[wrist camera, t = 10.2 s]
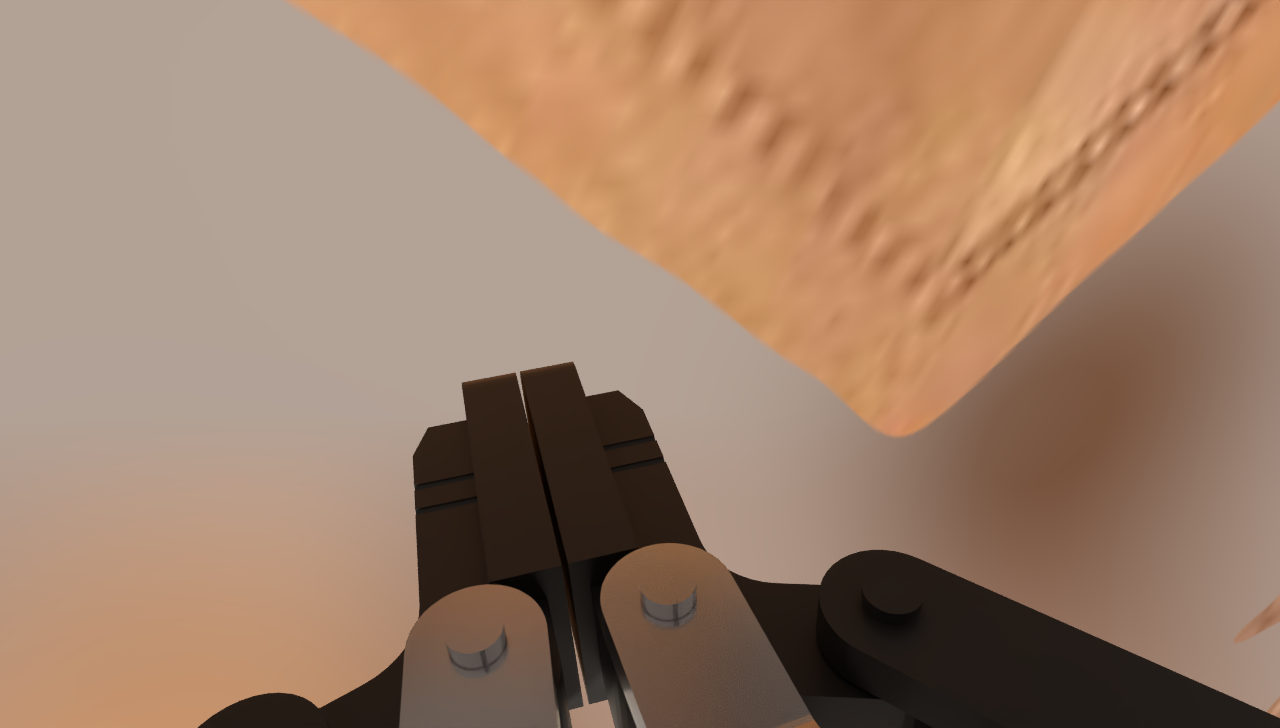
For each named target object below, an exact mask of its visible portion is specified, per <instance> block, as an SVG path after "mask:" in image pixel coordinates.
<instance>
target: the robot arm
mask: <svg viewBox="0 0 1280 728" xmlns="http://www.w3.org/2000/svg"><path fill="white" fill-rule="evenodd" d="M520 375H521V376H520V377H521V383H522V390H523V396H524V402H525V408H526V414H527V418H526V414H525V410H524V405H523V401H522V397H521V393H520V389H519V384H518V381H517V376H516V373H511V374H506V375H501V376H495V377H490V378H484V379H479V380H474V381H468V382H463V383H462V389H463V397H464V404H465V411H466V419H467V420H465V421H460V422H455V423H450V424H444V425H440V426H434V427H429V428H428V429H427V431H426V433H425V435H424V436H423V438H422V440H421V442H420V444H419V446H418V447H417V449H416V451H415V453H414V455H413V469H414V486H415V510H416V535H417V558H418V578H419V579H418V580H419V602H420V609H419V618H418V620H417V622H416V623H415V625H414V626H413V628H412V630H411V631H410V633H409V636H408V639H407V641H406V646H405V649H404V650H403V652H402V653H401V654H400V655H399V656H398V658H397V659H396V660H395V661H394V662H393V663H392V664H391V665H390V666H389V667H388V668H386V669H385V670H384V671H383V672H381V673H380V674H379V675H378V676H376V677H375V678H373V679H372V680H370V681H368V682H367V683H365V684H363V685H362V686H360V687H358V688H356V689H355V690H353V691H351V692H349V693H347V694H345V695H343V696H341V697H340V698H338V699H336V700H334V701H332V702H330V703H328V704H327V705H325V706H323V707H321V708H319V709H318V708H317V707H316V706H315V705H314V704H313V703H312V702H310V701H308V700H307V699H305V698H303V697H300V696H297V695H294V694H286V693H268V694H263V695H257V696H253V697H250V698H247V699H244V700H241V701H239V702H237V703H234V704H232V705H230V706H228V707H226V708H225V709H223V710H221V711H219V712H218V713H216V714H215V715H213V716H212V717H210V718H209V719H208V720H206V721H205V722H204V723H203V724H201V725H200V726H199V727H198V728H572V725H571V719H570V713H569V710H571V709H575V708H578V707H582V706H583V700H582V694H581V687H580V681H579V674H578V668H577V662H576V655H575V649H574V642H573V637H574V640H575V645H576V650H577V654H578V658H579V663H580V667H581V671H582V676H583V680H584V684H585V688H586V692H587V697H588V701H589V704H592V703H596V702H600V701H604V700H608V701H609V705H610V710H611V714H612V717H613V721H614V725H615V728H1280V718H1278V717H1276V716H1274V715H1271V714H1269V713H1267V712H1265V711H1262V710H1260V709H1258V708H1255V707H1253V706H1251V705H1248V704H1246V703H1244V702H1242V701H1239V700H1237V699H1235V698H1233V697H1230V696H1228V695H1226V694H1224V693H1222V692H1219V691H1217V690H1215V689H1212V688H1210V687H1208V686H1206V685H1203V684H1201V683H1199V682H1197V681H1194V680H1192V679H1190V678H1188V677H1185V676H1183V675H1181V674H1178V673H1176V672H1174V671H1172V670H1170V669H1167V668H1165V667H1163V666H1160V665H1158V664H1156V663H1154V662H1151V661H1149V660H1147V659H1145V658H1142V657H1140V656H1138V655H1136V654H1133V653H1131V652H1128V651H1126V650H1124V649H1122V648H1120V647H1117V646H1115V645H1113V644H1111V643H1108V642H1106V641H1104V640H1102V639H1099V638H1097V637H1095V636H1092V635H1090V634H1088V633H1085V632H1083V631H1081V630H1079V629H1077V628H1074V627H1072V626H1070V625H1068V624H1065V623H1063V622H1061V621H1059V620H1056V619H1054V618H1052V617H1049V616H1047V615H1045V614H1043V613H1041V612H1038V611H1036V610H1034V609H1032V608H1029V607H1027V606H1025V605H1022V604H1020V603H1018V602H1015V601H1013V600H1011V599H1009V598H1007V597H1004V596H1002V595H1000V594H998V593H995V592H993V591H991V590H988V589H986V588H984V587H982V586H979V585H977V584H975V583H973V582H970V581H968V580H966V579H964V578H961V577H959V576H957V575H955V574H952V573H950V572H947V571H945V570H943V569H941V568H939V567H936V566H934V565H932V564H930V563H927V562H925V561H923V560H921V559H918V558H915V557H913V556H910V555H907V554H904V553H899V552H896V551H888V550H869V551H862V552H857V553H854V554H851V555H848V556H846V557H844V558H842V559H840V560H839V561H838V562H836V563H835V564H833V565H832V566H831V568H830V569H829V570H828V571H827V572H826V574H825V576H824V577H823V579H822V582H821V585H809V584H781V583H768V582H761V581H756V580H752V579H749V578H746V577H743V576H740V575H738V574H736V573H733V572H732V571H729V570H728V569H727V568H726V566H725V565H724V564H723V563H722V562H721V561H720V560H718V559H717V558H716V557H714V556H713V555H711V554H710V553H708V552H707V551H706V550H705V548H704V547H703V545H702V543H701V541H700V539H699V537H698V535H697V532H696V530H695V528H694V526H693V523H692V521H691V519H690V516H689V514H688V512H687V510H686V507H685V505H684V503H683V500H682V498H681V496H680V493H679V491H678V489H677V487H676V484H675V482H674V480H673V477H672V475H671V473H670V470H669V468H668V466H667V464H666V462H664V458H663V455H662V453H661V450H660V448H659V445H658V443H657V441H655V438H654V434H653V432H652V429H651V427H650V425H649V423H648V420H647V418H646V416H645V413H644V411H643V409H641V408H640V407H639V406H638V405H636V404H635V403H634V402H632V401H631V400H630V399H629V398H627V397H626V396H625V395H623V394H622V393H621V392H620V391H612V392H607V393H602V394H597V395H592V396H587V397H586V396H585V393H584V390H583V387H582V385H581V382H580V379H579V376H578V373H577V370H576V367H575V365H574V363H573V362H569V363H563V364H558V365H553V366H547V367H542V368H536V369H531V370H526V371H521V372H520ZM527 420H528V422H527ZM571 628H572V630H571ZM572 632H573V636H572Z"/></svg>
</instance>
